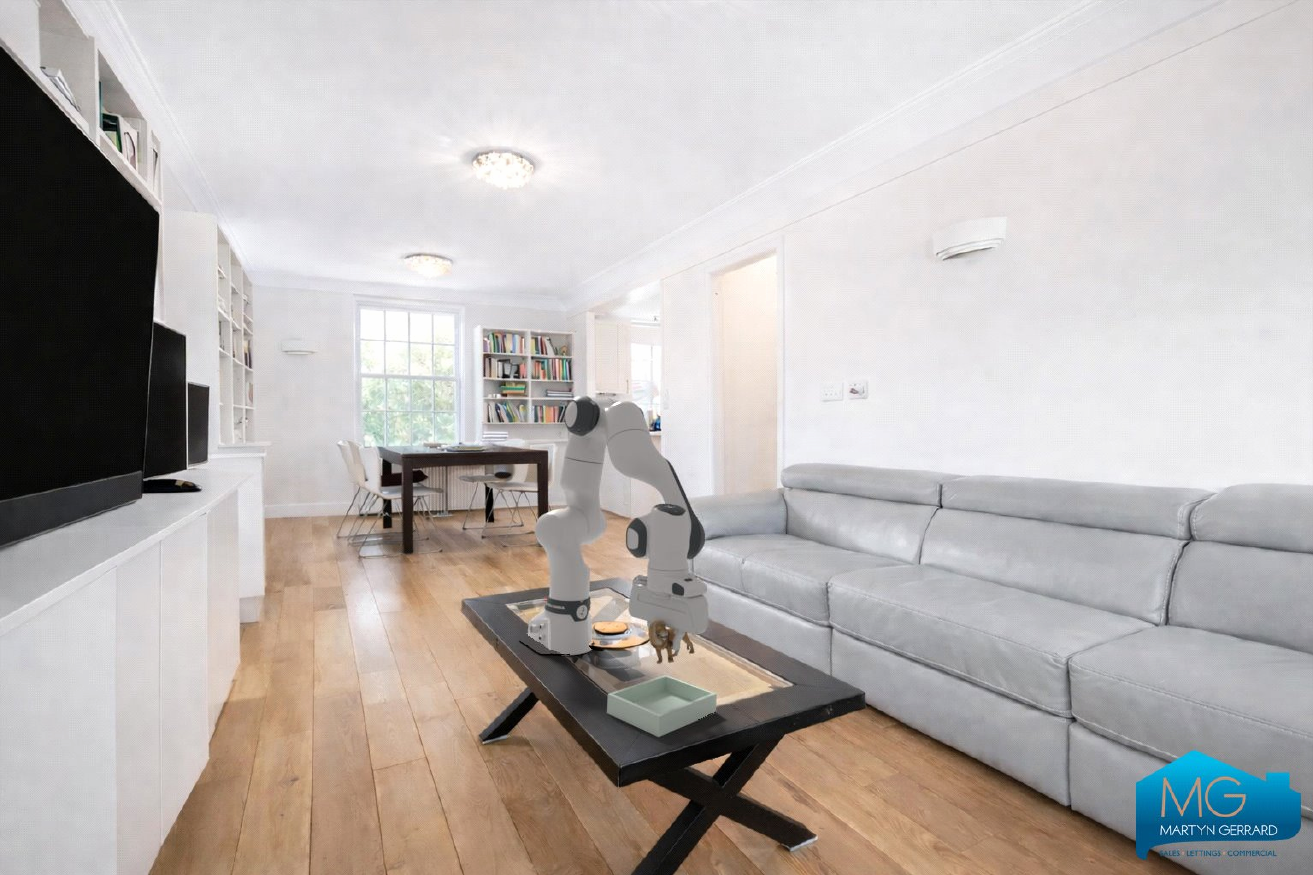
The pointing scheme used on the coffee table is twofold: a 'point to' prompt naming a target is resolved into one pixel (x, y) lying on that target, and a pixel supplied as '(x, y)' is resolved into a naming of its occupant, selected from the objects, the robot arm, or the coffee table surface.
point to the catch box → (661, 704)
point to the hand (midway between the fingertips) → (665, 645)
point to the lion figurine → (665, 640)
